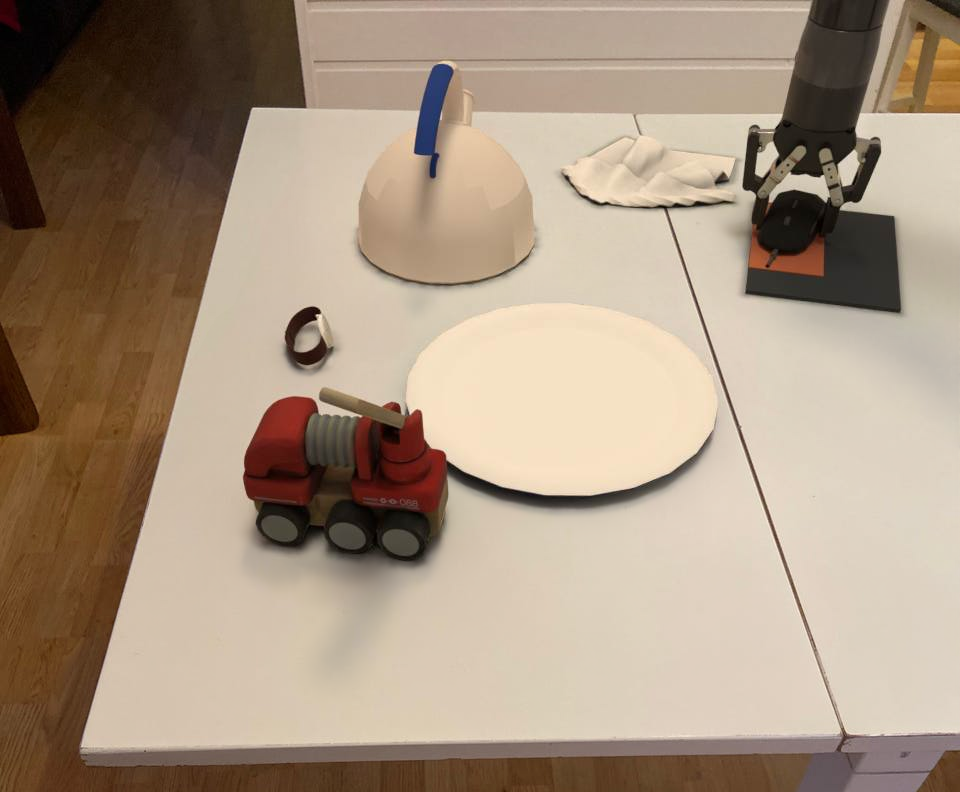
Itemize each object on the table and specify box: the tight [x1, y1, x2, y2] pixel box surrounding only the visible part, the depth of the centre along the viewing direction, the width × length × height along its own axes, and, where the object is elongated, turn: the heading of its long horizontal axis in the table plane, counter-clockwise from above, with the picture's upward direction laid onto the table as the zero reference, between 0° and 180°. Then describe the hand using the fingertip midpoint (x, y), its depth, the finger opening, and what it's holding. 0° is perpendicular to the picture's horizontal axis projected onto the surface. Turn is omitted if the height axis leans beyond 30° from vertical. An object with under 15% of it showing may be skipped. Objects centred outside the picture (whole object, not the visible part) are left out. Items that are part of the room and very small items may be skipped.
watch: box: [284, 305, 335, 366], centre depth 95 cm, size 8×5×4 cm, turn 7°
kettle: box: [357, 60, 536, 285], centre depth 103 cm, size 20×21×18 cm
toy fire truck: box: [242, 386, 449, 561], centre depth 73 cm, size 11×16×18 cm
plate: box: [405, 302, 720, 498], centre depth 90 cm, size 29×29×2 cm
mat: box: [744, 201, 902, 314], centre depth 108 cm, size 16×20×1 cm
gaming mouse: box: [758, 188, 827, 268], centre depth 108 cm, size 6×15×4 cm, turn 152°
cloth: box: [560, 134, 736, 208], centre depth 118 cm, size 20×22×2 cm
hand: (790, 230), depth 108 cm, fingers closed on gaming mouse, 6 cm apart
